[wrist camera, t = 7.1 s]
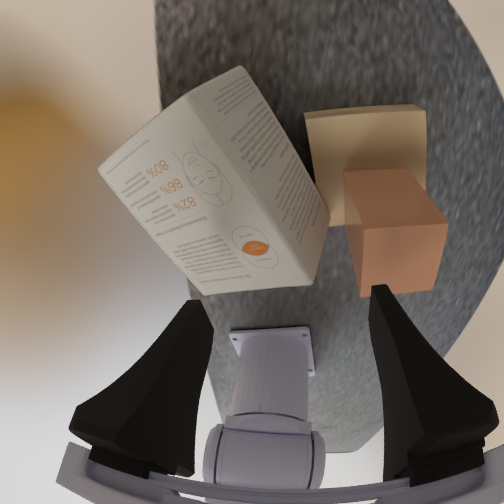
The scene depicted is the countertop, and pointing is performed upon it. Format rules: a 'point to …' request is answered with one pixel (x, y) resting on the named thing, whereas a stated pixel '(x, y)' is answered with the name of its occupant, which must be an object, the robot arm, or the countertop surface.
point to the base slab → (364, 146)
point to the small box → (223, 190)
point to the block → (392, 231)
